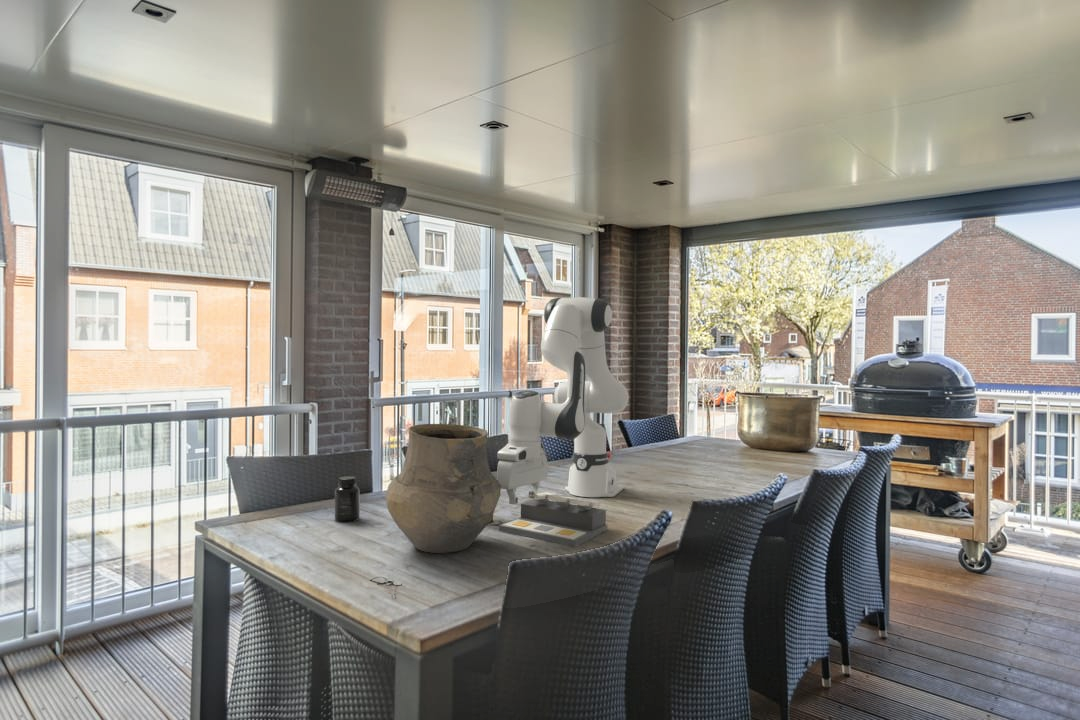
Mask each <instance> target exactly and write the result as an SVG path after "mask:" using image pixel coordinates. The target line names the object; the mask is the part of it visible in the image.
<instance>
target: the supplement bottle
mask: <svg viewBox="0 0 1080 720" xmlns="http://www.w3.org/2000/svg"><path fill="white" fill-rule="evenodd" d="M337 484H338V487H336V488H335V490H334V520H335V521H336V522H338V521H339V522H340V523H350V522H349V521H352V522H355V521H354V520H356V521H357V519H358V520H359V519H360V500H361V499H360V496H361V495H360V494H361V493H360V492H361V491H360V488H359V487H358V486H357V477H356V476H349V475H348V476H341V477H338V483H337ZM339 522H338V523H339Z"/></svg>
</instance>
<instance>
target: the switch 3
mask: <svg viewBox="0 0 1080 720" xmlns="http://www.w3.org/2000/svg"><path fill="white" fill-rule="evenodd" d="M570 504H573V505H577V508H578V509H584V510H592V508H594V507H600V506H601V502H600V501H594V500H589V499H588V500H584V499H578V500H570Z"/></svg>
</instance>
